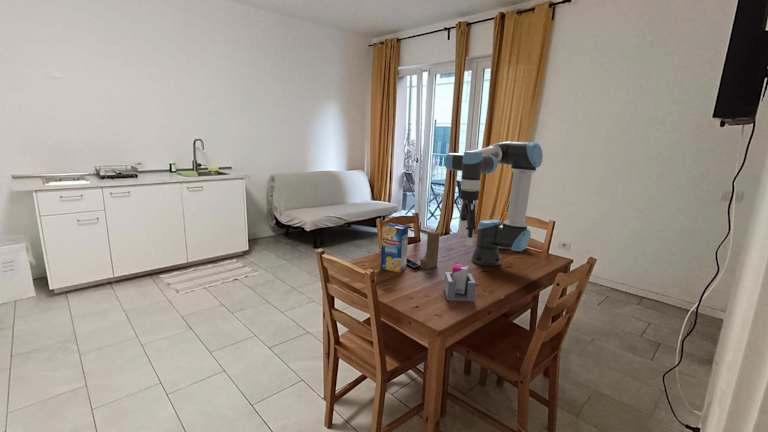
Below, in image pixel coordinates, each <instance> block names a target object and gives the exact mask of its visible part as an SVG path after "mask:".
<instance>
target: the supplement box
mask: <svg viewBox="0 0 768 432" xmlns="http://www.w3.org/2000/svg"><path fill="white" fill-rule="evenodd" d="M451 272H452V280H456V290H455V294H459V295H464V294H465V292H466V289H467V278H468V273H469V265H466V264H460V263H455V264H454V265H453V266H452V270H451Z"/></svg>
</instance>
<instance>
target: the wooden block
mask: <svg viewBox="0 0 768 432" xmlns="http://www.w3.org/2000/svg"><path fill="white" fill-rule="evenodd" d="M440 237H441V236H440V232H439V231H438V232H437V231H435V230H432V231H428V232H427V237H426V238H427V239H426V251H425V255H424V256H423V257H422V258H421V259H420V262H419V268H420V267H421V268H420V269H423V270H426V271H427V270H430V269H433V268H435V267H438V259H439V257H438V256H439V248H440V247H439V246H440Z"/></svg>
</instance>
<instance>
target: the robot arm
mask: <svg viewBox="0 0 768 432" xmlns="http://www.w3.org/2000/svg"><path fill="white" fill-rule="evenodd" d="M543 156H544V155H543V151H542V147H541V145H540V144H539V143H537V142H532V141H502V142H498V143H497V142H496V143H493V144H489V145H488V146H486V147H484V148H478V149H474V150H465V151H464V152H459V153H457V152H449V153H447V154H446V155H445V158H444V167H445V168H446V169H447V170H449V171H459V172H461V180H460V181H459V184H460V190H459V191H460V192H459V199H461V200H462V205H461V210H460V216H459V218H460V225H459V236H460V237H461V236H464V237H465V246H473V242H474V233H475V232H474V231H475V230H476V229H477V233H476V243H475V245H476V246H475V248H474V250H473V252H472V254H471V259H470V260H471V262H472V263H474V264H476V265H479V266H484V267H497V266H499V265H500V264H501V257H500V252H499V248H498V246H499V247H503V248H502V249H505V248H507V250H511V251H516V252H523V251H524V250H526V249H527V248H526V246H527V247H528V244H529V243H530V240H531V237H532V236H531V230H530V229H529V228H528V224H527V223H526V216H527V209H528V203H529V195H530V189H531V183H532V178H533V177H532V176H533V174H534V173H535V172H536V171H537V168H539V167H541V165H542V163H543ZM498 164H500V165H501V164H502V165H509V166H510V169H511V170H512V172H513V175H512V181H511V188H510V197H509V203H508V208H507V209H508V210H507V218H506V219H505V220H504V221H503V223H502V221H501V220H499V219H498V220H497V219H483V220H480V221H479V222H478V224H477V227H476V204H475V203H474V201H478V200H479V198H480V189H481V176H482V175H483V174H487V175H489V174H490V173H492V172H493V173H494V172H495V171H496V170H497V167H498ZM525 248H526V249H525Z"/></svg>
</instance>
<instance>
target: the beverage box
mask: <svg viewBox="0 0 768 432" xmlns="http://www.w3.org/2000/svg"><path fill="white" fill-rule="evenodd" d="M381 233H382V234H381V253H380V255H381V256H380V269H383V270H385V271H390V272H391V271H392V272H395V273H402V272H403V271H406V269H407V258H408V245H409V244H408V242H409V241H408V240H409V225H404V224H397V223H391V222H388V223H385V224H383V225H382V232H381Z"/></svg>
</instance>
